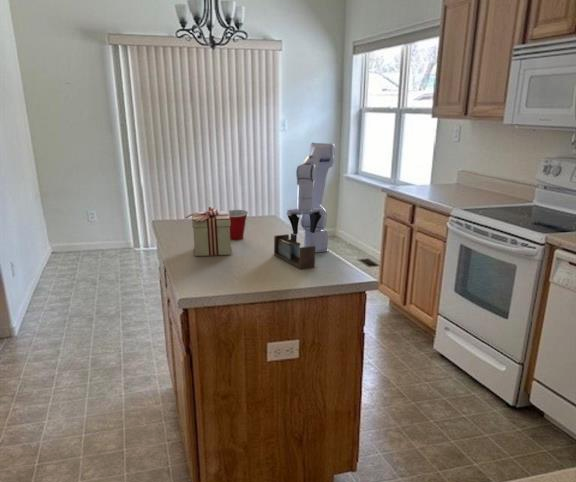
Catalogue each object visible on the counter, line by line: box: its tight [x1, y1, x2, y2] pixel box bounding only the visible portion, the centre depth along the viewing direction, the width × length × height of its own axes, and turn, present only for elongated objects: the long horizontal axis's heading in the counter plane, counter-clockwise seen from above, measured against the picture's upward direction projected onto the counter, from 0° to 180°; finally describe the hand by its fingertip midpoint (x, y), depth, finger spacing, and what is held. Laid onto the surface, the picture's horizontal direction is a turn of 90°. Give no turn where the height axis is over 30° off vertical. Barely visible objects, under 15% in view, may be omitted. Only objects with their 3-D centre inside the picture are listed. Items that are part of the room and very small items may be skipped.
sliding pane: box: [287, 232, 301, 259], centre depth 208 cm, size 1×9×9 cm, turn 28°
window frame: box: [273, 233, 316, 270], centre depth 206 cm, size 6×22×8 cm, turn 28°
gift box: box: [184, 206, 232, 257], centre depth 214 cm, size 17×18×17 cm
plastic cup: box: [227, 209, 249, 241], centre depth 237 cm, size 11×11×12 cm
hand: (303, 233), depth 206 cm, fingers open, 7 cm apart
